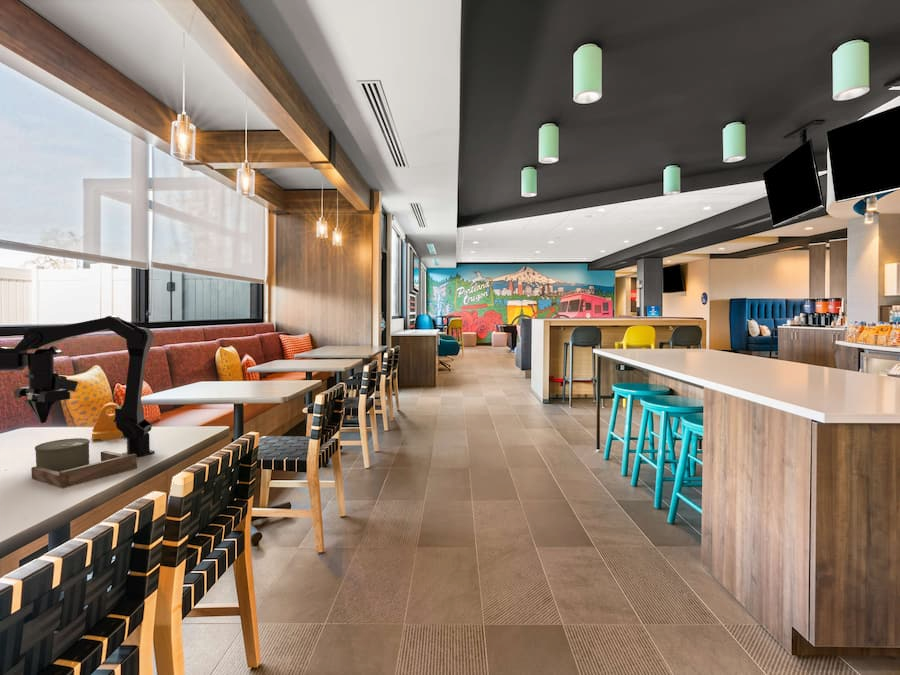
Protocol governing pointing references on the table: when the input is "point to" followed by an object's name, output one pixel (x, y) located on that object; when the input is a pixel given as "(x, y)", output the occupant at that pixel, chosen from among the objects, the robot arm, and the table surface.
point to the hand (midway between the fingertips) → (43, 422)
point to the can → (63, 454)
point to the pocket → (86, 470)
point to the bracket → (106, 425)
